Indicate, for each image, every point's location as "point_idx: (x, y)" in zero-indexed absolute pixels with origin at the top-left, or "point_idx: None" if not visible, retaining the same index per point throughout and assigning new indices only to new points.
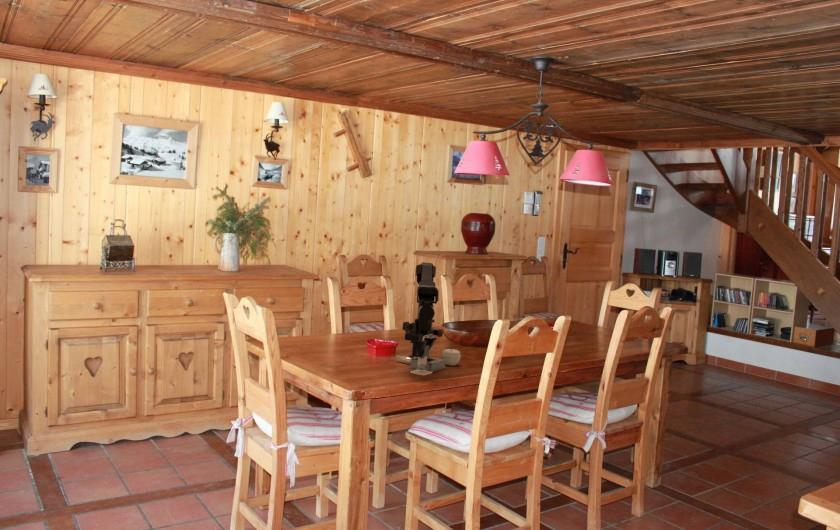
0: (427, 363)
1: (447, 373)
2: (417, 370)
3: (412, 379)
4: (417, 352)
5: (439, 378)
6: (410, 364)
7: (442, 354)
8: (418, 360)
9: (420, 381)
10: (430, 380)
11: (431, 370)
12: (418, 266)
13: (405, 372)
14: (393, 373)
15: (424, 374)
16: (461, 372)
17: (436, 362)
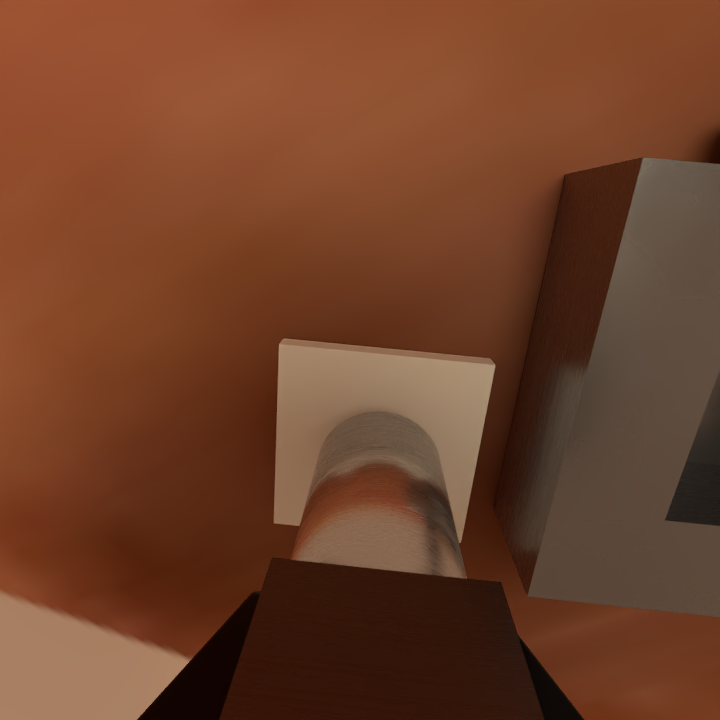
0: (541, 520)
1: (571, 638)
2: (393, 387)
3: (41, 494)
4: (174, 680)
5: None
6: (587, 173)
7: None
8: (303, 521)
9: (50, 580)
10: (165, 627)
11: (504, 522)
12: None
13: (254, 273)
14: (69, 175)
15: (293, 521)
16: (711, 713)
17: (664, 609)
